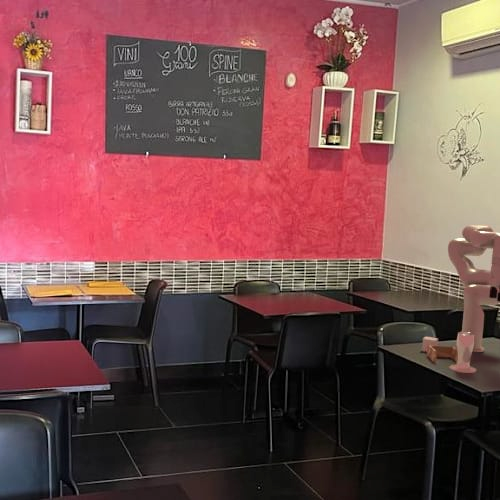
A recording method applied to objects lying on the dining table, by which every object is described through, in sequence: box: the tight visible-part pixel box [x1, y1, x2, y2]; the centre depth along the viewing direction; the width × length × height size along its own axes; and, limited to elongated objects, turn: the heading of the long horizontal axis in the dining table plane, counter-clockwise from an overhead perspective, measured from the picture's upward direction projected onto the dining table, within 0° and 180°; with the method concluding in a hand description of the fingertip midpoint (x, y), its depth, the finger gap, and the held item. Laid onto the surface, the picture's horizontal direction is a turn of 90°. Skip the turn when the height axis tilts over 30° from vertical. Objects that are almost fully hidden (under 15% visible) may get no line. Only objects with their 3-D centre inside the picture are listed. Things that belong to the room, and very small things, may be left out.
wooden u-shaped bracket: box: [426, 345, 457, 363], centre depth 307 cm, size 12×12×5 cm
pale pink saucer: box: [448, 364, 477, 374], centre depth 292 cm, size 11×11×1 cm
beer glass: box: [455, 331, 474, 370], centre depth 291 cm, size 7×7×15 cm
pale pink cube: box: [421, 336, 439, 353], centre depth 322 cm, size 6×6×6 cm
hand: (496, 299), depth 306 cm, fingers open, 9 cm apart
